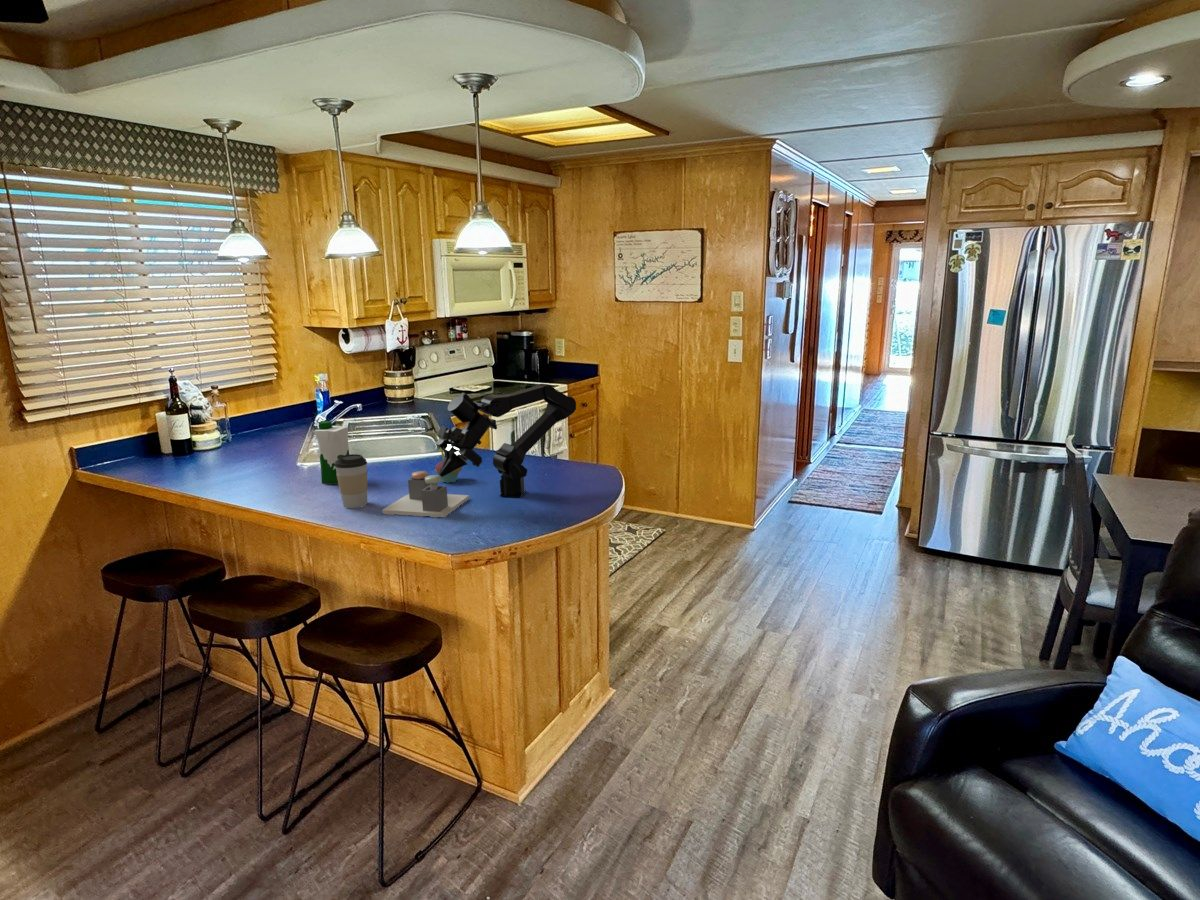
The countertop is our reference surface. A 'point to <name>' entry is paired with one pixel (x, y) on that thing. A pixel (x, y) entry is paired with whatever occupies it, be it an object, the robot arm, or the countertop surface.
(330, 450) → the milk carton
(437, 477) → the sage button
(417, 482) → the grey button stand
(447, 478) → the cupcake
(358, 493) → the coffee cup
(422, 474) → the terracotta button
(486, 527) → the countertop surface
